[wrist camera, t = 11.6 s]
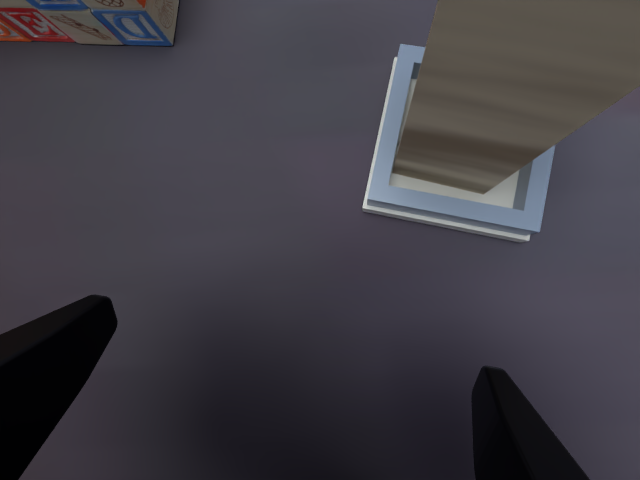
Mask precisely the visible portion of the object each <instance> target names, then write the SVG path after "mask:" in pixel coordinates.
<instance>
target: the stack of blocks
mask: <svg viewBox="0 0 640 480" xmlns="http://www.w3.org/2000/svg"><path fill="white" fill-rule="evenodd" d="M178 5H179V0H0V41H26V42H31V41H33V40H35V41H48V42H60V41H61V42H77V43H79V44H106V45H124V44H127V45H143V46H146V45H153V46H172V45H173V39H174V33H175V27H176V19H177V12H178Z"/></svg>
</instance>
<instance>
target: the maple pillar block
mask: <svg viewBox="0 0 640 480" xmlns="http://www.w3.org/2000/svg"><path fill="white" fill-rule="evenodd" d="M639 86H640V0H438V2H437V6H436V10H435V14H434V17H433V21H432V25H431V29H430V32H429V36H428V40H427V44H426V47H425V51H424V55H423V58H422V62H421V66H420V70H419V73H418V77H417V81H416V85H415V88H414V92H413V96H412V100H411V103H410V107H409V111H408V115H407V118H406V122H405V126H404V130H403V134H402V137H401V141H400V145H399V149H398V152H397V156H396V160H395V164H394V168H393V171H392V173H394V174H398V175H403V176H407V177H411V178H415V179H420V180H424V181H428V182H432V183H437V184H441V185H445V186H449V187H454V188H458V189H462V190H466V191H471V192H475V193H479V194H483V195H484V194H485V193H486V192H488V191H489V190H491V189H492V188H494V187H495V186H496V185H498V184H499V183H501V182H502V181H504V180H505V179H507V178H508V177H509V176H511V175H512V174H514V173H515V172H517V171H518V170H519V169H521V168H522V167H524V166H525V165H527V164H528V163H530V162H531V161H532V160H534V159H535V158H537V157H538V156H540V155H541V154H542V153H544V152H545V151H547V150H548V149H550V148H551V147H553V146H554V145H555V144H557V143H558V142H560V141H561V140H563V139H564V138H565V137H567V136H568V135H570V134H571V133H573V132H574V131H576V130H577V129H578V128H580V127H581V126H583V125H584V124H586V123H587V122H588V121H590V120H591V119H593V118H594V117H596V116H597V115H599V114H600V113H601V112H603V111H604V110H606V109H607V108H609V107H610V106H611V105H613V104H614V103H616V102H617V101H619V100H620V99H622V98H623V97H624V96H626V95H627V94H629V93H630V92H632V91H633V90H634V89H636V88H637V87H639Z"/></svg>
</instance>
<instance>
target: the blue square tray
mask: <svg viewBox="0 0 640 480" xmlns="http://www.w3.org/2000/svg"><path fill="white" fill-rule="evenodd" d="M424 51H425V47H419V46H412V45H404V44H400V49H399V53H398V58H397V57H395V58H394V63H393V67H392V72H391V77H390V81H389V86H388V91H387V95H386V100H385V105H384V109H383V114H382V119H381V123H380V128H379V133H378V137H377V142H376V147H375V151H374V156H373V161H372V165H371V170H370V175H369V179H368V184H367V189H366V193H365V198H364V203H363V207H362V211H363V212H368V213H373V214H378V215H383V216H388V217H393V218H398V219H403V220H409V221H414V222H419V223H424V224H429V225H434V226H439V227H444V228H449V229H454V230H459V231H464V232H469V233H474V234H479V235H484V236H489V237H494V238H499V239H504V240H509V241H515V242H520V243H522V242H526V241H529V239H530V235H531V234H534V233H538V232H540V227H541V222H542V216H543V211H544V205H545V200H546V194H547V189H548V183H549V177H550V172H551V166H552V161H553V155H554V150H555V145H554V146H553V147H551V148H550V149H548V150H547V151H545V152H544V153H542V154H541V155H540V156H538V157H537V158H535V159H534V160H532V161H531V162H530V163H528V164H527V165H525V166H524V167H522V168H521V169H519V170H518V171H517V172H515V173H514V174H512V175H511V176H509V177H508V178H507V179H505V180H504V181H502V182H501V183H499V184H498V185H496V186H495V187H494V188H492V189H491V190H489V191H488V192H486V193H485V194H484V195H483V194H479V193H475V192H471V191H466V190H462V189H458V188H454V187H449V186H445V185H441V184H437V183H432V182H428V181H424V180H420V179H415V178H411V177H407V176H403V175H398V174H394V173H392V171H393V168H394V164H395V160H396V156H397V152H398V149H399V145H400V141H401V137H402V134H403V130H404V126H405V122H406V118H407V115H408V111H409V107H410V103H411V100H412V96H413V92H414V88H415V85H416V81H417V77H418V73H419V70H420V66H421V62H422V58H423V55H424Z"/></svg>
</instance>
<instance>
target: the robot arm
mask: <svg viewBox="0 0 640 480" xmlns="http://www.w3.org/2000/svg"><path fill="white" fill-rule="evenodd" d="M116 328H117V317H116V314H115V311H114V308H113V305H112V301H111V299H110V298H109V297H106V296H101V295H90V296H87V297H85V298H83V299H80V300H78V301H76V302H74V303H71V304H69V305H67V306H64V307H62V308H60V309H58V310H55V311H53V312H51V313H49V314H46V315H44V316H42V317H39V318H37V319H35V320H33V321H30V322H28V323H26V324H24V325H21V326H19V327H17V328H14V329H12V330H10V331H8V332H5V333H3V334H1V335H0V480H18V479H19V478H20V476H21V475H22V474H23V472H24V471H25V469H26V468H27V466H28V465H29V464H30V462H31V461H32V459H33V458H34V456H35V455H36V454H37V452H38V451H39V449H40V448H41V446H42V445H43V444H44V442H45V441H46V439H47V438H48V436H49V435H50V434H51V432H52V431H53V429H54V428H55V426H56V425H57V424H58V422H59V421H60V419H61V418H62V416H63V415H64V414H65V412H66V411H67V409H68V408H69V406H70V405H71V404H72V402H73V401H74V399H75V398H76V396H77V395H78V394H79V392H80V391H81V389H82V388H83V386H84V385H85V383H86V381H87V380H88V378H89V376H90V375H91V373H92V371H93V369H94V368H95V366H96V364H97V362H98V361H99V359H100V357H101V355H102V354H103V352H104V350H105V348H106V346H107V345H108V343H109V341H110V339H111V338H112V336H113V334H114V332H115V330H116ZM472 424H473V451H474V470H475V478H476V480H590V479H589V478H588V476H587V475H586V474H585V473H584V471H583V470H582V469H581V468H580V466H579V465H578V464H577V462H576V461H575V460H574V459H573V457H572V456H571V455H570V453H569V452H568V451H567V450H566V448H565V447H564V446H563V444H562V443H561V442H560V441H559V439H558V438H557V437H556V436H555V434H554V433H553V432H552V430H551V429H550V428H549V427H548V425H547V424H546V423H545V421H544V420H543V419H542V418H541V416H540V415H539V414H538V412H537V411H536V410H535V409H534V407H533V406H532V405H531V404H530V402H529V401H528V400H527V398H526V397H525V396H524V395H523V393H522V392H521V391H520V389H519V388H518V387H517V386H516V384H515V383H514V382H513V381H512V379H511V378H510V377H509V375H508V374H507V373H506V372H505V371H504V370H503V369H501V368H496V367H491V366H483V367H482V368H481V370H480V373H479V375H478V378H477V380H476V382H475V385H474V387H473V391H472Z"/></svg>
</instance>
